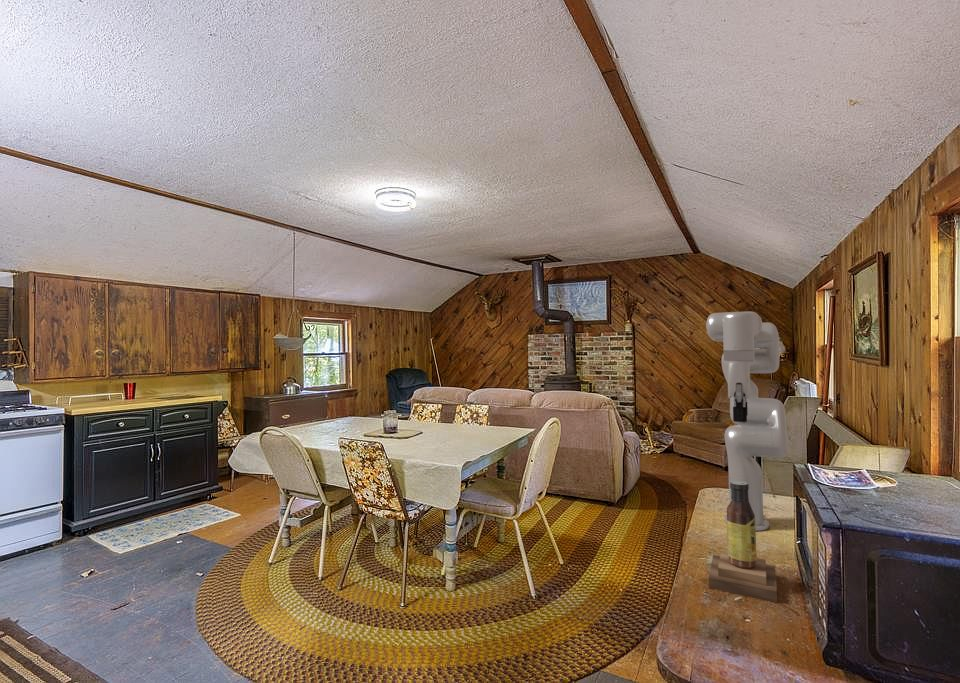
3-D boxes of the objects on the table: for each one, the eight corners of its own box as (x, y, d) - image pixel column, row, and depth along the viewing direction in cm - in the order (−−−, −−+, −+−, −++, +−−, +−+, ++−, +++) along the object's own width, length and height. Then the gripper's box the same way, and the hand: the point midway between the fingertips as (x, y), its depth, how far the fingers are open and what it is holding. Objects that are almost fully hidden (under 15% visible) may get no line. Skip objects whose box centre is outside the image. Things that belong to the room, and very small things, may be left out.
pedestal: (713, 564, 128) (713, 547, 128) (775, 575, 121) (774, 557, 121) (708, 588, 116) (708, 569, 116) (777, 602, 109) (776, 582, 109)
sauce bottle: (759, 571, 114) (756, 487, 114) (729, 567, 117) (727, 485, 117) (754, 559, 121) (751, 480, 121) (726, 556, 123) (724, 478, 123)
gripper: (725, 354, 142) (727, 412, 143) (721, 359, 128) (723, 423, 128) (754, 354, 139) (756, 413, 139) (754, 358, 124) (756, 425, 124)
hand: (740, 418), depth 133 cm, fingers open, 9 cm apart
